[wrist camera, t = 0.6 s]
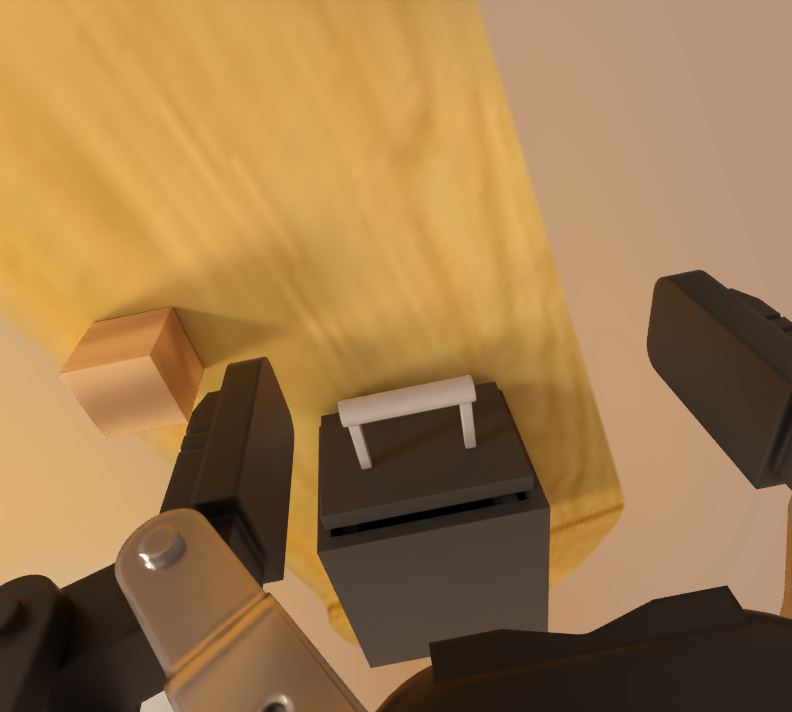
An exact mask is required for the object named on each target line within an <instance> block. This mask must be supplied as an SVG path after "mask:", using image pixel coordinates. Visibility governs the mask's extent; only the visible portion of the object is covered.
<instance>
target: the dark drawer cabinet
mask: <svg viewBox="0 0 792 712" xmlns="http://www.w3.org/2000/svg"><path fill="white" fill-rule="evenodd" d="M499 393H500V395H501V398H502V400H503V403H504V405H505V407H506V410H507V412H508V415H509V417H510V420H511V422H512V425H513V427H514V430H515V432H516V434H517V437H518V439H519V442H520V444H521V447H522V449H523V452H524V454H525V457H526V459H527V461H528V464H529V466H530V469H531V471H532V474H533V490H528V491H523V492H518V493H516V494H517V497H518V500H519V501H515V502H510V503H505V504H500V505H495V506H490V507H485V508H479V509H474V510H469V511H464V512H459V513H454V514H449V515H444V516H439V517H434V518H428V519H423V520H418V521H413V522H408V523H403V524H398V525H393V526H388V527H383V528H377V529H372V530H367V531H362V532H357V533H352V534H347V535H344V527H340V528H335V529H330V530H326V529H325V527H324V525H323V523H322V520H321V518H320V495H321V427H319V470H318V534H317V540H318V541H317V554H318V556H319V558H320V560H321V562H322V564H323V566H324V569H325V571H326V573H327V575H328V577H329V579H330V581H331V584H332V586H333V588H334V590H335V592H336V594H337V596H338V599H339V601H340V603H341V605H342V607H343V609H344V611H345V614H346V616H347V618H348V620H349V622H350V624H351V626H352V629H353V631H354V633H355V635H356V637H357V639H358V642H359V644H360V646H361V648H362V650H363V652H364V654H365V657H366V659H367V661H368V663H369V665H370V667H371V668H373V667H379V666H384V665H389V664H394V663H399V662H404V661H410V660H415V659H420V658H425V657H431V655H430V648H429V643H431V642H436V641H441V640H446V639H451V638H457V637H462V636H467V635H472V634H477V633H483V632H488V631H493V630H498V629H510V630H523V631H537V632H548V592H549V540H550V506H549V503H548V501H547V498H546V496H545V494H544V492H543V489H542V487H541V484H540V482H539V479H538V477H537V475H536V472H535V470H534V467H533V465H532V463H531V460H530V458H529V455H528V453H527V451H526V448H525V446H524V443H523V441H522V438H521V436H520V434H519V431H518V429H517V426H516V424H515V422H514V419H513V417H512V414H511V412H510V410H509V407H508V405H507V402H506V400H505V398H504V395H503V393H502V391H499Z"/></svg>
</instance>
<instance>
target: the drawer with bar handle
mask: <svg viewBox="0 0 792 712" xmlns="http://www.w3.org/2000/svg"><path fill="white" fill-rule="evenodd" d="M338 407H339V413H335V414H330V415H325V416H322V417H321V495H320V518H321V520H322V523H323V525H324V527H325V529H326V530H330V529H335V528H340V527H344V535H347V534H352V533H357V532H362V531H367V530H372V529H377V528H383V527H388V526H393V525H398V524H403V523H408V522H413V521H418V520H423V519H428V518H434V517H439V516H444V515H449V514H454V513H459V512H464V511H469V510H474V509H479V508H485V507H490V506H495V505H500V504H505V503H510V502H515V501H519V500H518V497H517V494H516V493H518V492H523V491H528V490H533V474H532V471H531V469H530V466H529V464H528V461H527V459H526V457H525V454H524V452H523V449H522V447H521V444H520V442H519V439H518V437H517V434H516V432H515V430H514V427H513V425H512V422H511V420H510V417H509V415H508V412H507V410H506V407H505V405H504V403H503V400H502V398H501V395H500V393H499V390H498V388H497V385H496V383H495V382H491V383H486V384H481V385H476V386H474V382H473V379H472V377H471V375H466V376H461V377H456V378H451V379H446V380H441V381H436V382H431V383H426V384H421V385H416V386H411V387H406V388H401V389H396V390H391V391H386V392H381V393H376V394H371V395H366V396H361V397H356V398H351V399H346V400H341V401H339V403H338Z"/></svg>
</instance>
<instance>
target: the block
mask: <svg viewBox="0 0 792 712" xmlns="http://www.w3.org/2000/svg"><path fill="white" fill-rule="evenodd" d="M203 372H204V368H203V366H202V364H201V362H200V361H199V359H198V357H197V355H196V353H195V351H194V349H193V347H192V345H191V343H190V341H189V339H188V337H187V335H186V333H185V331H184V329H183V327H182V325H181V323H180V321H179V319H178V317H177V315H176V313H175V311H174V309H173V307H168V308H163V309H158V310H154V311H149V312H144V313H139V314H134V315H129V316H124V317H119V318H114V319H109V320H105V321H100V322H95V323H92V324H91V325H90V327H89V328H88V330H87V331H86V333H85V334H84V336H83V337H82V339H81V340H80V342H79V343H78V345H77V346H76V348H75V349H74V351H73V352H72V354H71V356H70V357H69V359H68V360H67V362H66V363H65V365H64V366H63V368H62V369H61V371H60V372H59V376H60V377H61V379H62V380H63V382H64V383H65V384H66V386H67V387H68V388H69V390H70V391H71V392H72V394H73V395H74V397H75V398H76V399H77V401H78V402H79V403H80V405H81V406H82V407H83V409H84V410H85V412H86V413H87V414H88V416H89V417H90V418H91V420H92V421H93V422H94V424H95V425H96V427H97V428H98V429H99V431H100V432H101V433H102V435H103V436H104V437H105V438H106V439H107V438H112V437H117V436H122V435H127V434H132V433H137V432H142V431H147V430H152V429H157V428H162V427H167V426H172V425H177V424H182V423H187V422H189V418H190V415H191V412H192V408H193V405H194V402H195V399H196V395H197V392H198V389H199V385H200V382H201V379H202V376H203Z"/></svg>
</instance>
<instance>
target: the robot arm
mask: <svg viewBox="0 0 792 712" xmlns="http://www.w3.org/2000/svg"><path fill="white" fill-rule="evenodd" d="M647 351H648V356H649V359H650V361H651V364H652V366H653V368H654V369H655V370H656V372H657V373H658V374H659V375H660V376H661V378H662V379H663V380H664V381H665V382H666V383H667V385H668V386H669V387H670V388H671V389H672V391H673V392H674V393H675V394H676V395H677V396H678V398H679V399H680V400H681V401H682V402H683V404H684V405H685V406H686V407H687V408H688V409H689V411H690V412H691V413H692V414H693V415H694V416H695V418H696V419H697V420H698V421H699V422H700V423H701V425H702V426H703V427H704V428H705V429H706V431H707V432H708V433H709V434H710V435H711V436H712V438H713V439H714V440H715V441H716V442H717V444H718V445H719V446H720V447H721V448H722V449H723V451H724V452H725V453H726V454H727V455H728V456H729V458H730V459H731V460H732V461H733V462H734V463H735V465H736V466H737V467H738V468H739V469H740V471H741V472H742V473H743V474H744V475H745V476H746V478H747V479H748V480H749V481H750V482H751V484H752V485H753V486H754V487H755V488H756V489H761V488H766V487H771V486H776V485H781V484H786V485H787V486H788V487H789V488H790V489H791V490H792V322H791V321H789V320H788V319H786V318H785V317H781V316H780V313H778V312H777V311H775V310H774V309H773V308H771V307H770V306H769V305H767V304H766V303H764V302H763V301H762V300H760V299H758V298H756V297H753V296H750V295H748V294H745V293H742V292H740V291H737V290H734V289H727V288H726V287H725V286H723V285H722V284H720V283H719V282H718V281H717V280H715V279H714V278H713V277H711V276H710V275H709V274H707V273H706V272H704V271H702V270H695V271H691V272H685V273H680V274H675V275H671V276H666V277H661V278H659V279H658V280H657V282H656V284H655V287H654V292H653V299H652V307H651V314H650V322H649V328H648V336H647ZM186 434H187V435H186V436H184V439H183V442H182V445H181V452H180V453H179V455H178V458H177V461H176V464H175V467H174V470H173V473H172V476H171V479H170V483H169V485H168V489H167V491H166V495H165V498H164V501H163V504H162V507H161V510H160V514H159V515H157V516H155V517H153V518H151V519H150V520H148V521H146V522H145V523H144V524H142V525H141V526H140V527H139V528H138V529H137V530H135V531H134V532H133V533H132V534H131V536H130V537H129V538H128V539H127V540H126V542H125V543H124V545H123V546H122V548H121V550H120V551H119V553H118V556H117V559H116V562H115V563H113V564H112V565H110V566H108V567H106V568H104V569H102V570H99V571H97V572H95V573H93V574H91V575H89V576H87V577H85V578H83V579H80V580H78V581H76V582H74V583H72V584H70V585H68V586H66V587H63V588H61V589H59V588H58V587H57V586H56V585H55V584H54V583H53V582H52V581H51V580H50V579H49V578H47V577H45V576H42V575H27V576H23V577H19V578H16V579H14V580H11V581H9V582H7V583H5V584H4V585H1V586H0V712H140V708H141V703H142V702H144V701H145V700H147V699H149V698H151V697H153V696H155V695H156V694H158V693H160V692H162V691H164V690H165V693H166V696H167V698H168V700H169V702H170V704H171V706H172V709H173V711H174V712H368V711H367V710H366V709H365V708H364V706H363V705H362V704H361V703H360V701H359V700H358V699H357V698H356V697H355V695H354V694H353V693H352V692H351V690H350V689H349V688H348V687H347V686H346V684H345V683H344V682H343V681H342V679H341V678H340V677H339V676H338V674H337V673H336V672H335V671H334V670H333V668H332V667H331V666H330V665H329V663H328V662H327V661H326V660H325V658H324V657H323V656H322V655H321V654H320V652H319V651H318V650H317V649H316V648H315V646H314V645H313V644H312V643H311V641H310V640H309V639H308V638H307V636H306V635H305V634H304V633H303V632H302V630H301V629H300V628H299V627H298V625H297V624H296V623H295V622H294V620H293V619H292V618H291V617H290V616H289V614H288V613H287V612H286V611H285V609H284V608H283V607H282V606H281V604H280V603H279V602H278V601H277V600H276V599H275V598H274V596H272V595H271V594H270V593H266V592H265V591H264V590H263V584H265V583H270V582H275V581H280V580H283V577H284V564H285V552H286V539H287V527H288V514H289V501H290V489H291V476H292V464H293V451H294V428H293V423H292V418H291V415H290V412H289V409H288V406H287V404H286V401H285V399H284V396H283V394H282V391H281V389H280V386H279V383H278V381H277V378H276V376H275V373H274V371H273V368H272V366H271V364H270V362H269V360H268V359H267V358H266V357H261V358H256V359H251V360H246V361H241V362H236V363H231V364H229V365H228V366H227V369H226V372H225V376H224V380H223V383H222V387H221V390H220V391H215V392H210V393H207V395H206V396H205V397H204V398H203V400H202V401H201V402H200V403H199V404H198V406H197V407H196V408H195V409H194V411H193V412H192V415H191V418H190V421H189V424H188V427H187V430H186ZM786 547H787V548H786V571H785V591H784V598H783V604H782V608H781V612H780V615H779V616H778V615H775V614H771V613H765V612H760V611H754V610H748V609H742V607H741V606H740V604H739V603H738V601H737V600H736V598H735V597H734V595H733V594H732V592H731V591H730V589H729V588H728V586H722V587H716V588H711V589H706V590H701V591H696V592H691V593H685V594H680V595H675V596H670V597H664V598H660V599H654V600H652V601H650V602H648V603H646V604H644V605H642V606H640V607H638V608H636V609H635V610H632V611H631V612H629V613H627V614H625V615H623V616H621V617H619V618H617V619H615V620H613V621H611V622H610V623H608V624H606V625H604V626H602V627H600V628H598V629H596V630H594V631H592V632H590V633H587V634H563V633H549V632H537V631H523V630H510V629H498V630H493V631H488V632H483V633H477V634H472V635H467V636H462V637H457V638H451V639H446V640H441V641H436V642H431V643H429V648H430V655H431V661H432V666H429V667H427V668H425V669H424V670H422V671H420V672H418V673H417V674H415V675H414V676H412V677H411V678H410V679H408V680H407V681H405V682H404V683H403V684H401V685H400V686H399V687H398V688H397V689H396V690H395V691H394V692H393V693H392V694H390V695H389V696H388V697H387V699H386V700H385V701H384V702H383V703H382V704H381V706H380V707H379V708H378V709H377V710H376V712H792V496H791V498H790V501H789V505H788V522H787V546H786Z"/></svg>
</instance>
